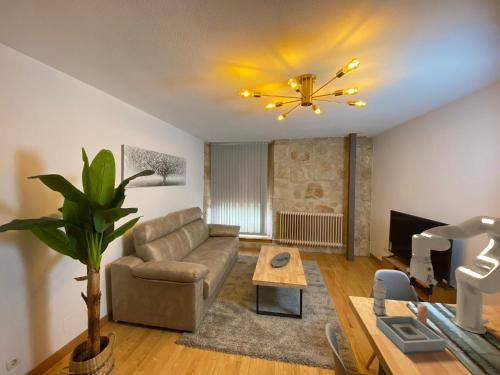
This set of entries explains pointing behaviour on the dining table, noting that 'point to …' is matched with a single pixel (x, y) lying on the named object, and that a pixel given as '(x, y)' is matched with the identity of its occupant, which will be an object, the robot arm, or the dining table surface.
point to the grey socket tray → (410, 334)
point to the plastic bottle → (379, 297)
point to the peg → (422, 314)
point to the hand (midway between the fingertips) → (420, 289)
